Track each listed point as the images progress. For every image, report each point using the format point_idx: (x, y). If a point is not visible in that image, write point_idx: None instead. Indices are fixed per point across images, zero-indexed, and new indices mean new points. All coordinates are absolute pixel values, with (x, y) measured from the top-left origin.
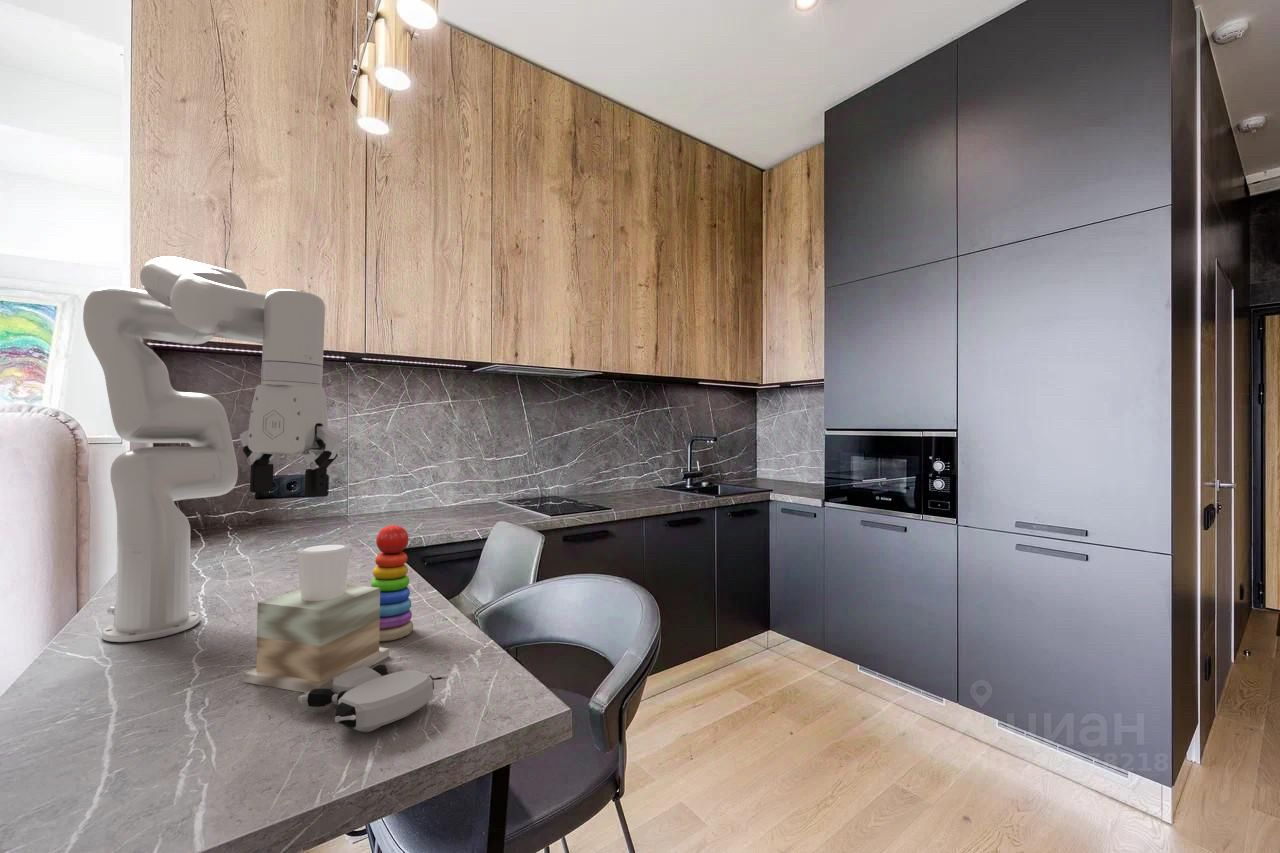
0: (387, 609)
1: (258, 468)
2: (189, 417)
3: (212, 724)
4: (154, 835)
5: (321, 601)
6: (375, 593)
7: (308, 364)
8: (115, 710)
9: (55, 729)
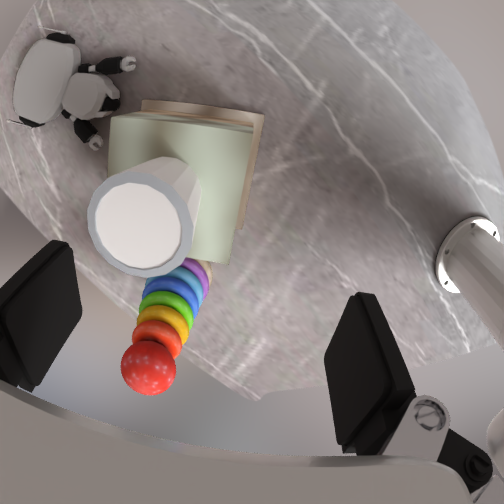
0: None
1: (372, 389)
2: None
3: (216, 24)
4: None
5: (142, 157)
6: None
7: None
8: (354, 45)
9: (374, 13)
